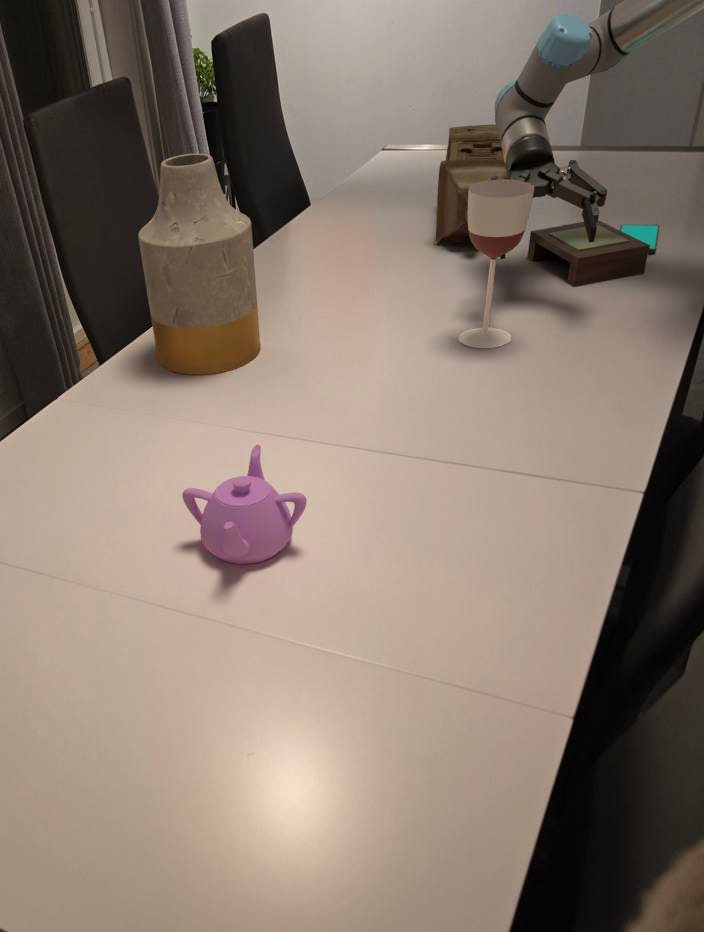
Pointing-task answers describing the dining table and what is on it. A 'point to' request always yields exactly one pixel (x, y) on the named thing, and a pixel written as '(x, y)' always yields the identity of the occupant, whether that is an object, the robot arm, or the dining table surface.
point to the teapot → (245, 516)
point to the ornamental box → (465, 177)
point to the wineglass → (495, 240)
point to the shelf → (590, 252)
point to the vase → (199, 272)
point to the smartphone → (643, 234)
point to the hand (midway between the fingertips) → (547, 244)
